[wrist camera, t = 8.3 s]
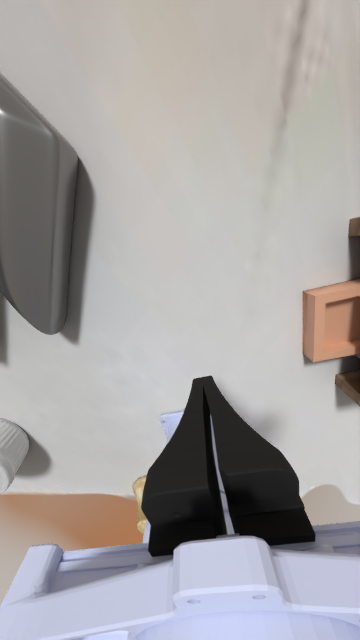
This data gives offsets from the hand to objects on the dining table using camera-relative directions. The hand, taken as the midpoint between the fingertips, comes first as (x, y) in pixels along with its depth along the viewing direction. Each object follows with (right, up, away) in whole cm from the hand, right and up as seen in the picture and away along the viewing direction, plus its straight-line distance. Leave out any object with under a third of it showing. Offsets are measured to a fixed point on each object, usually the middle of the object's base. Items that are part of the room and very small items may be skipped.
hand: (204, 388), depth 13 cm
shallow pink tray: (+18, +6, +8) cm, 21 cm away
